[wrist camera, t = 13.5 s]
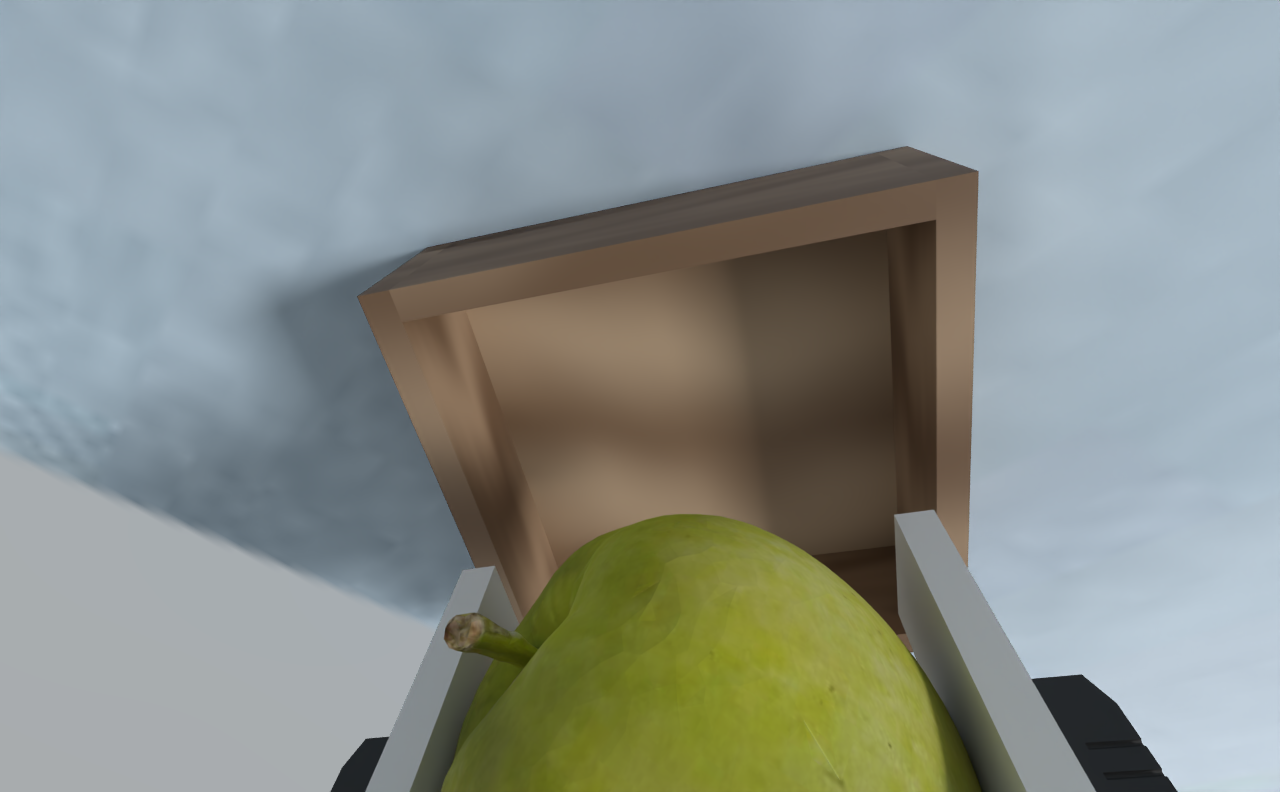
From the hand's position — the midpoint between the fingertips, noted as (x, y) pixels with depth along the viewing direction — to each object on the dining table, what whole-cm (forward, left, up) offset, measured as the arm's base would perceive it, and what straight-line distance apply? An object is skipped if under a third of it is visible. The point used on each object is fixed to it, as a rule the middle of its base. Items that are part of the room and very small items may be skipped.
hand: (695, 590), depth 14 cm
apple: (0, 0, 0) cm, 0 cm away
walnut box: (0, 0, -8) cm, 8 cm away
